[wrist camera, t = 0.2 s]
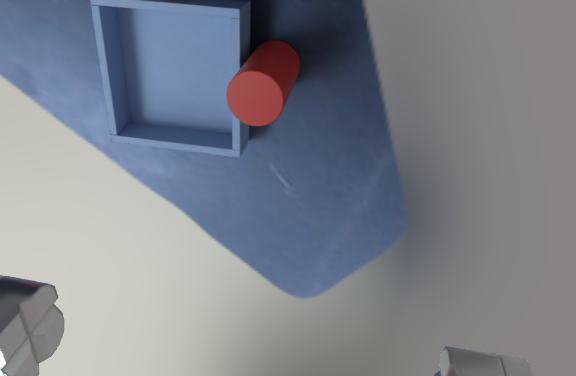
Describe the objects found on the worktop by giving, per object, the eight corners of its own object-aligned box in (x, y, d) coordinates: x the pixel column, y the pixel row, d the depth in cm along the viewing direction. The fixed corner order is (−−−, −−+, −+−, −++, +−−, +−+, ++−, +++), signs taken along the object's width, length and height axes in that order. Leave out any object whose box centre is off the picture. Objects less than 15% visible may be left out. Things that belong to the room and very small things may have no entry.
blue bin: (110, -13, 35) (88, -5, 33) (250, -1, 34) (240, 9, 32) (127, 125, 41) (110, 141, 38) (249, 140, 40) (240, 157, 37)
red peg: (251, 37, 35) (225, 67, 30) (301, 42, 35) (285, 73, 29) (251, 86, 37) (226, 123, 31) (298, 91, 37) (282, 130, 31)
